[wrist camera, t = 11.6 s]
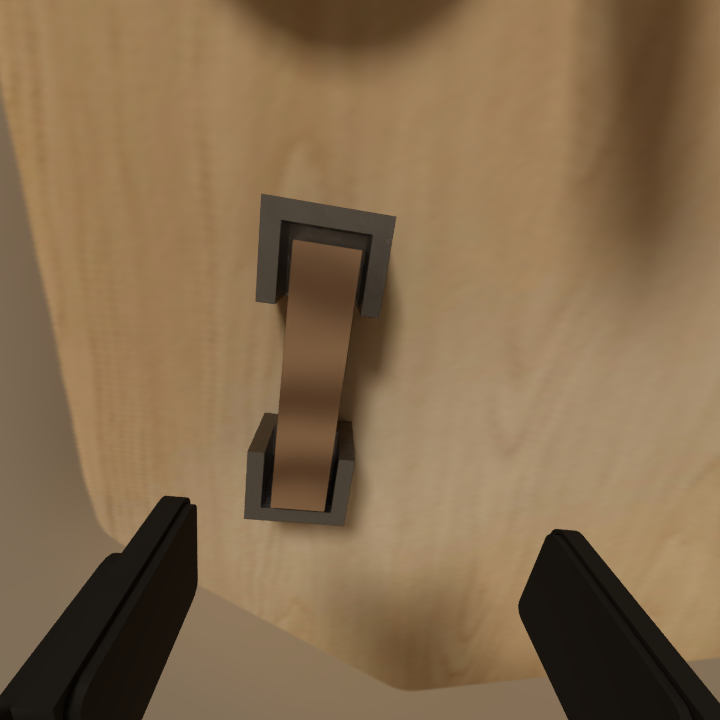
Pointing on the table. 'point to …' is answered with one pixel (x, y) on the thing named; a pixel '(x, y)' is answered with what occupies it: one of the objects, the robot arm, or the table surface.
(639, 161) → the table surface
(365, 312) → the bracket
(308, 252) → the walnut rail
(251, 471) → the bracket
